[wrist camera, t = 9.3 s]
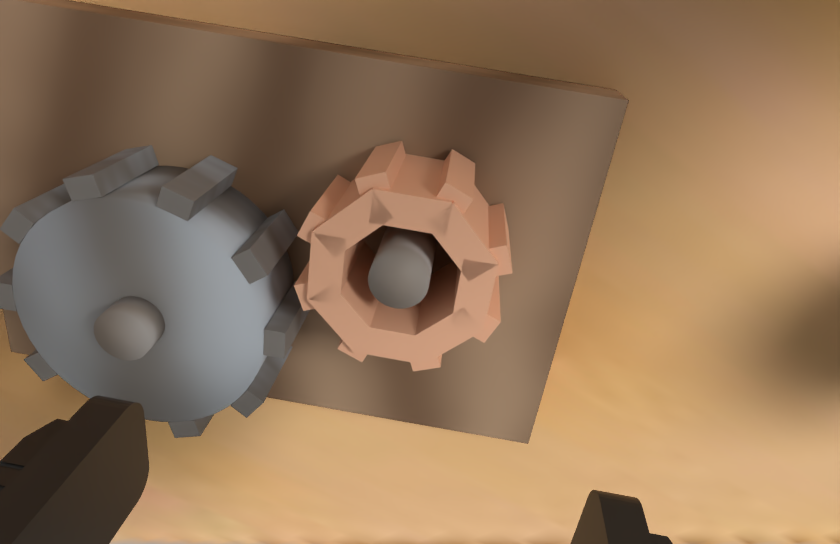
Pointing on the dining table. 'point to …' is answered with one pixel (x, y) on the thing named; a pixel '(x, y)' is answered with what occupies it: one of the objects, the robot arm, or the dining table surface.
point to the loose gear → (414, 210)
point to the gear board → (268, 213)
